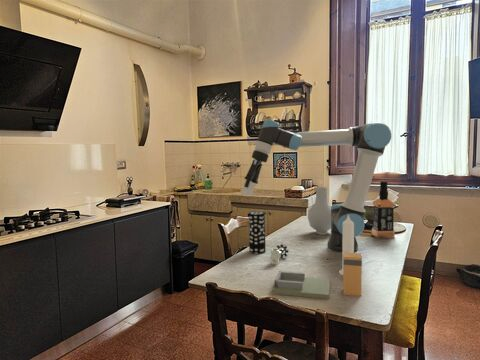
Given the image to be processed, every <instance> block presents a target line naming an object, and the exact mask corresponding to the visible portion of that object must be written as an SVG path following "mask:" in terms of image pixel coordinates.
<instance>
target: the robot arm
mask: <svg viewBox="0 0 480 360" xmlns="http://www.w3.org/2000/svg"><path fill="white" fill-rule="evenodd" d="M391 140H392V131H391V129H390V128H389V126H388V125H387V124H385V123H383V122H381V121H380V122H379V121H373V122H372V121H371V122H370V123H365V124H363V125H358V126H349V128H346V129H331V130H330V129H329V130H314V131H313V130H312V131H311V130H310V131H297V132H295V131H294V132H292V131H289V130H286V129H284V128H283V129H282V128H280V123H279V122H277V121H275V120H272V119H265V120H264V121H263V124H262V126H261V129H260V131H259V134H258V137H257V141H256V142H255V143H254V145H255V146H254V150H253V152H252V153H251V158H252V159H253V160H252V163H251V164H250V167H249V169H248V171H247V174H246V176H245V177H244V178H243V179H244V180H245V181H244V184H243V187H242V189H241V192H240V193H241V194H242V195H244V196H251V197H252V196H253V193H254V190H255V187H256V185H257V184H259V178H260V173H261V170H262V166H263V164H262V163H267V162H268V158H269V154H271V151H272V148H273V145H274V144H275V145H278V146H280V147H283V148H286V149H289V150H292V151H298V150H299V148H301V147H302V148H303V147H305V148H306V147H323V146H324V147H325V146H328V147H329V146H345V145H346V146H347V145H348V146H349V147H356V149H357V151H358V156H357V160H356V163H355V166H354V170H353V173H352V176H351V177H352V178H351V180H350V184H349V188H348V191H347V195H346V197H345V201H344V202H342V203H339V204H338V203H337V204H332V205H331V229H330V235H329V238H328V241H327V243H326V244H327V249H328V250H329V251H333V252H335V253H336V252H337V253H342V239H343V222H344V221H345V220H346V219H347V216H348V215H349V217H350V220H351V221H353V222H354V252H357V251H358V250H359V244H358V242H357V241H358V240H357V238H356V237H358V236H360V235H361V234H362V233H363V232H364V230H365V225H366V224H365V216H366V212H367V211H366V209H365V204H366V200H367V197H368V193H369V190H370V187H371V183H372V180H373V178H374V173H375V170H376V166H377V163H378V161H379V157H381V156H383V155H384V151H385V149H386V147H387V146H388V145H389V144H390V142H391Z"/></svg>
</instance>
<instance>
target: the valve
mask: <svg viewBox="0 0 480 360" xmlns="http://www.w3.org/2000/svg"><path fill="white" fill-rule="evenodd" d="M280 248H282V249H280ZM287 248H288V245H287V246H286V245H285V246H284V244H283V243H281V244H280V245H278V244H277V245H276V248H272V249H271V252H270V259H271V261H270V263H271V265H274V266H278V265H279V264H280V262H281V261H280V258H282V259H283V258H284V257H288V253H289V252H290V251H289V250H288V249H287Z"/></svg>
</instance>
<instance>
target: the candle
mask: <svg viewBox="0 0 480 360" xmlns="http://www.w3.org/2000/svg"><path fill="white" fill-rule="evenodd" d="M344 252H346V253H355V251H354V222H353V221H351V220H350V217H349V215H348V216H347V219H346V220H345V221H344V222H343V239H342V252H341V254H342V259H341V260H342V261H341V263H342V265H341V266H342V267H341V268H342V269H339V271H338V273H339V275H341V276H343V264H344V262H343V255H344Z"/></svg>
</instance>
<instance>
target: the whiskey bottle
mask: <svg viewBox="0 0 480 360" xmlns="http://www.w3.org/2000/svg"><path fill="white" fill-rule="evenodd" d="M379 184H380V190H379V193H378V194H379V198H378V199H376V200H374V201H372V205H373V209H372V210H373V214H372V228H371V235H372V236H373V237H374V238H377V239H395V228H394V226H395V225H394V224H395V223H394V217H395V216H394V215H395V213H394V212H395V211H394V209H395V206H396V205H395V204H396V203H395V202H393V201H392V200H390V199H389V198H388V196H389V191H388V181H387V180H381V181H380V183H379Z"/></svg>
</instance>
